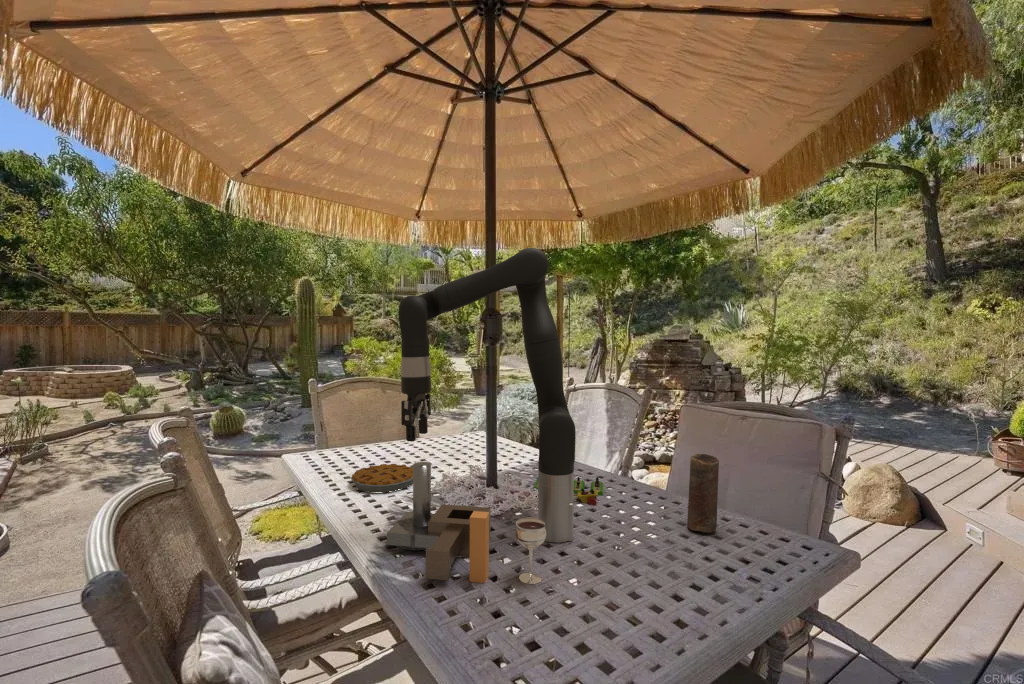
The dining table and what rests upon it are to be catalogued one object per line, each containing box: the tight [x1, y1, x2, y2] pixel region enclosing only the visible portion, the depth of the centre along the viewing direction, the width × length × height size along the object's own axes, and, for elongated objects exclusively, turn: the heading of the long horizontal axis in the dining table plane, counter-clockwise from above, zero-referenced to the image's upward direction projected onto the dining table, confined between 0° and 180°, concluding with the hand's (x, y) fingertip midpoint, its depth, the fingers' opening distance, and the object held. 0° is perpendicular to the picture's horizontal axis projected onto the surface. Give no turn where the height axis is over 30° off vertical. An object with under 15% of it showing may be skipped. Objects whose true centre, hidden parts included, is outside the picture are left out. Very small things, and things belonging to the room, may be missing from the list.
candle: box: [686, 453, 720, 534], centre depth 129 cm, size 8×7×20 cm
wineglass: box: [515, 516, 546, 585], centre depth 104 cm, size 7×7×12 cm
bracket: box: [425, 504, 492, 581], centre depth 112 cm, size 13×24×8 cm, turn 171°
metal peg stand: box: [386, 461, 440, 551], centre depth 120 cm, size 14×14×20 cm
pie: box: [350, 463, 413, 493], centre depth 165 cm, size 22×22×5 cm
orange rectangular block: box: [469, 511, 490, 584], centre depth 104 cm, size 4×4×14 cm
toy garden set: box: [533, 476, 604, 506], centre depth 158 cm, size 23×19×5 cm
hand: (417, 437), depth 123 cm, fingers open, 8 cm apart
